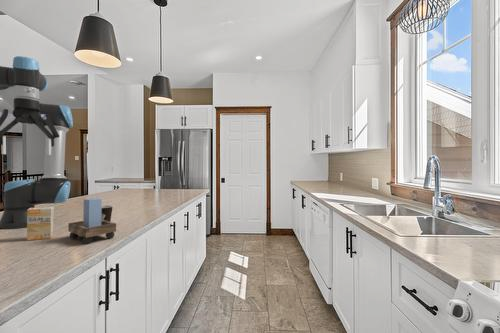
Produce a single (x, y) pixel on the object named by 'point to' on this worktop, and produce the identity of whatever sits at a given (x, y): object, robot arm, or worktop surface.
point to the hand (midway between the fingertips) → (27, 154)
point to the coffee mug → (106, 212)
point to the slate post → (92, 212)
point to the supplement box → (40, 223)
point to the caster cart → (91, 230)
